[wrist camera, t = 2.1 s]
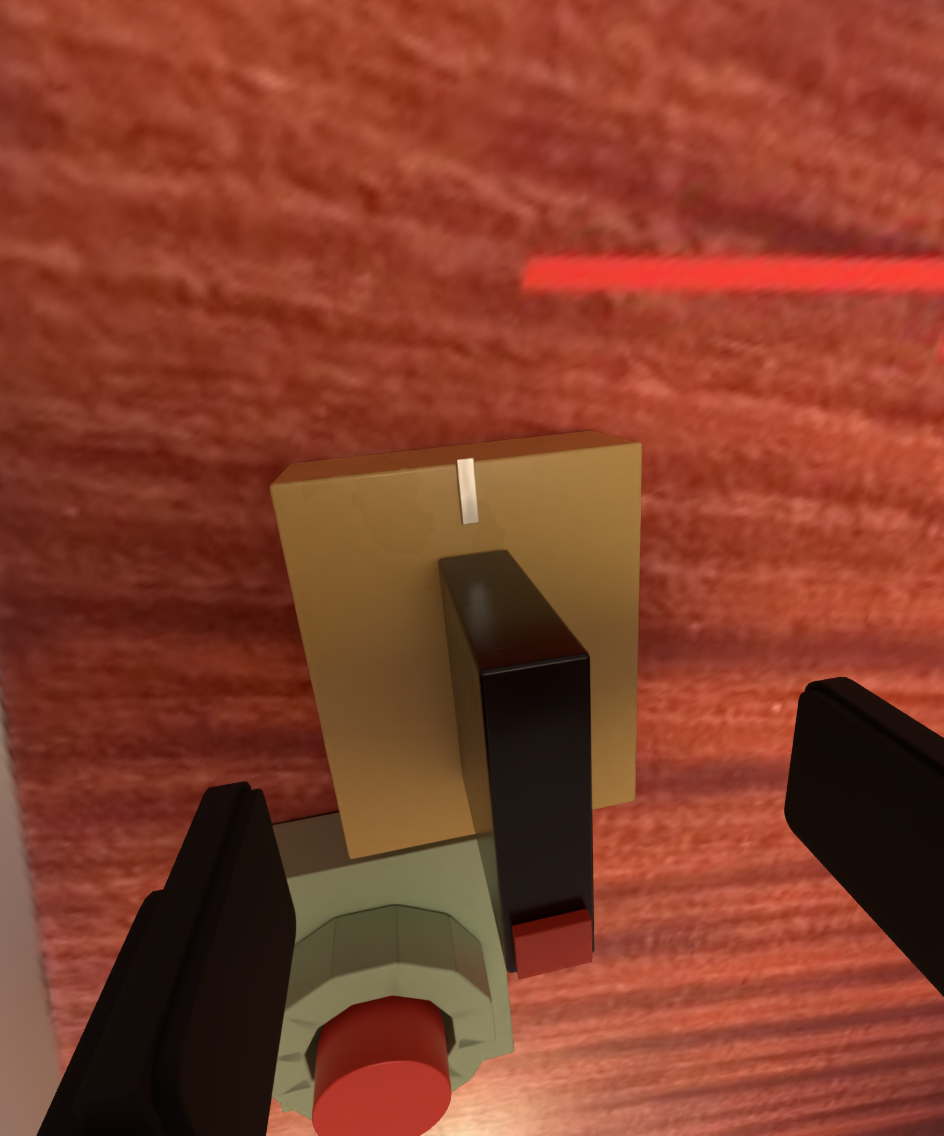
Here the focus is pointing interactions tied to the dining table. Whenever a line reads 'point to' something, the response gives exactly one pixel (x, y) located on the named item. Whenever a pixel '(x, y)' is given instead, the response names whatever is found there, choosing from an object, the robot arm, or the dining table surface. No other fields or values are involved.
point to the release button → (382, 1070)
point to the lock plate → (416, 618)
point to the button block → (388, 946)
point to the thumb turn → (524, 757)
